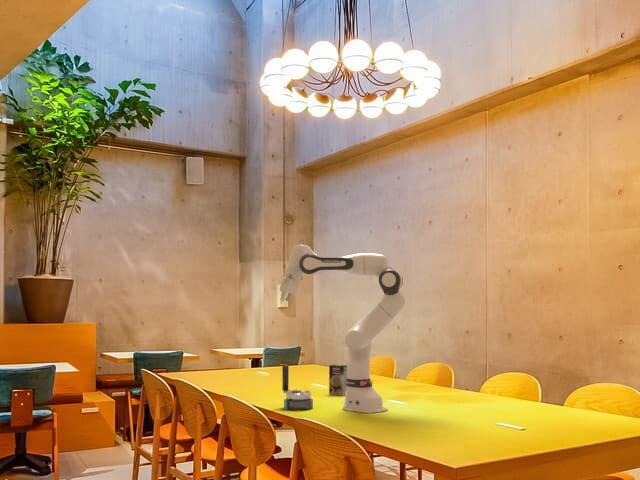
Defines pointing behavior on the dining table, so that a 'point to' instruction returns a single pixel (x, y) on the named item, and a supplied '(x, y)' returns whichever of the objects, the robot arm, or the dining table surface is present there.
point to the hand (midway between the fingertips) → (284, 300)
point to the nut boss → (298, 405)
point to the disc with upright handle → (293, 394)
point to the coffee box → (337, 379)
